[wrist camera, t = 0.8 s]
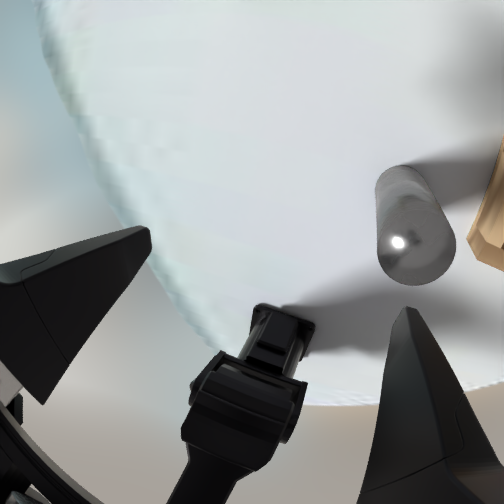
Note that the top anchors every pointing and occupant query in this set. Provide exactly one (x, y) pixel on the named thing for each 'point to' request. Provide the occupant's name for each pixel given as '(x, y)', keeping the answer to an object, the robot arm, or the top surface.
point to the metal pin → (411, 228)
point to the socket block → (491, 220)
